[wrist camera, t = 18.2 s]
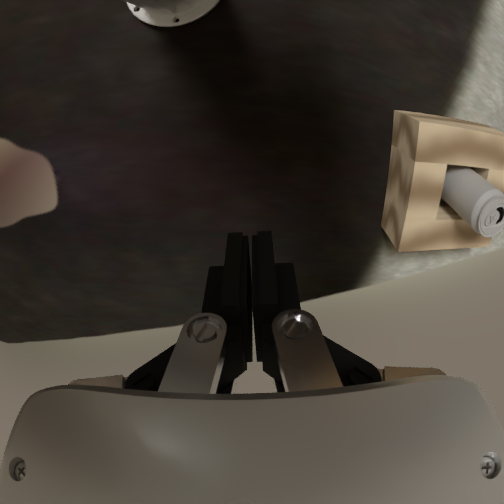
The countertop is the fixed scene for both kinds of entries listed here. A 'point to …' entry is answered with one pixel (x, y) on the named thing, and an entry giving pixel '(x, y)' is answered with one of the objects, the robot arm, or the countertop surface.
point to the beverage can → (474, 199)
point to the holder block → (435, 179)
